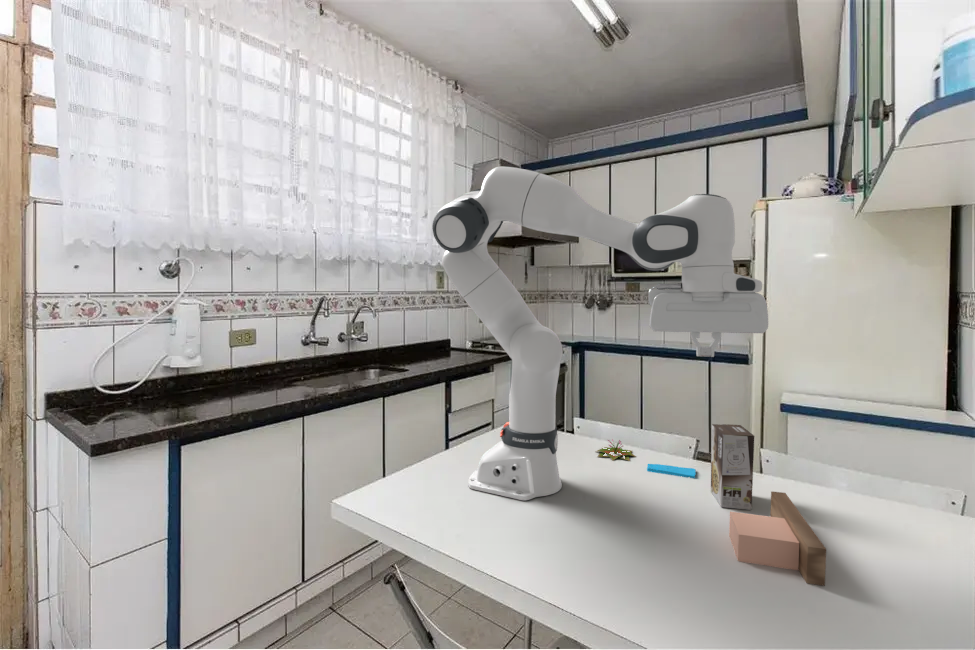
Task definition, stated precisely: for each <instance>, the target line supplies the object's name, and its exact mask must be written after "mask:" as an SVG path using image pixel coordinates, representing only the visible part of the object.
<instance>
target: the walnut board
mask: <svg viewBox="0 0 975 650" xmlns="http://www.w3.org/2000/svg"><path fill="white" fill-rule="evenodd" d="M770 493H771V494H770V515H769V517H777V518H784V519H785V520H786V522H787V524H788V525H789V527H790V528H791V530H792V532H793V533H794V535H795V536H796V538H797V540H798V541H799V566H798V571H799V573H800V575H801V576H802V578H803V580H804V582H805V583H806V584H808V585H809V584H810V585H817V586H823V587H825V585H826V568H827V567H826V565H827V564H826V563H827V548H826V546H825V544H823V542H822V541H821V540H820V538H819V537H818V536H817V534H816V532H814V530H813V528H812V527H811V526H810V525H809V523H808V522H807V521H806V519H805V518H804V516H803V515H802V514H801V512H800V511H799V509H798V508H797V507H796V505H795V504H794V503H793V501H792V500H791V498H790V497H789V495H788V494H787V493H786V492H782V491H781V492H780V491H773V490H772V491H770Z"/></svg>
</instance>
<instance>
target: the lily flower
mask: <svg viewBox="0 0 975 650" xmlns="http://www.w3.org/2000/svg"><path fill="white" fill-rule="evenodd" d="M607 441H608V442H609V443H610V444H608V446H609V447H605V446H603V447H604V448H607V449H603V448H602V447H601V448H599V449H597V450H596V452H599V453H598V455H597V458H598V457H601V458H602V457H604V458H605V457H606V458H610V459H611V460H612V461H615V460H616V459H621V460H625V461H628V462H630V461H631V460H630V457H629V456H631V457H635V458H637V456H636V455H634V453H632V452H633V450H628V449H623V448H622V447H624V445H622V441H621V440H620V439H619V440H618V442H617V441H615V442H614V440H613V438H612V442H611V441H610V439H607ZM615 444H616V445H615ZM608 449H610V450H608ZM622 451H626V452H622ZM627 451H630V452H627ZM610 452H614V453H613V454H614V456H613V454H612V455H611V454H609V453H610ZM617 452H618V453H621V454H622V455H619V454H617ZM605 453H606V454H608V455H607V456H603V455H604V454H605ZM615 454H617V455H615ZM618 455H619V456H618ZM623 455H624V456H625V459H624V458H623ZM618 457H619V458H618Z"/></svg>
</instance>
